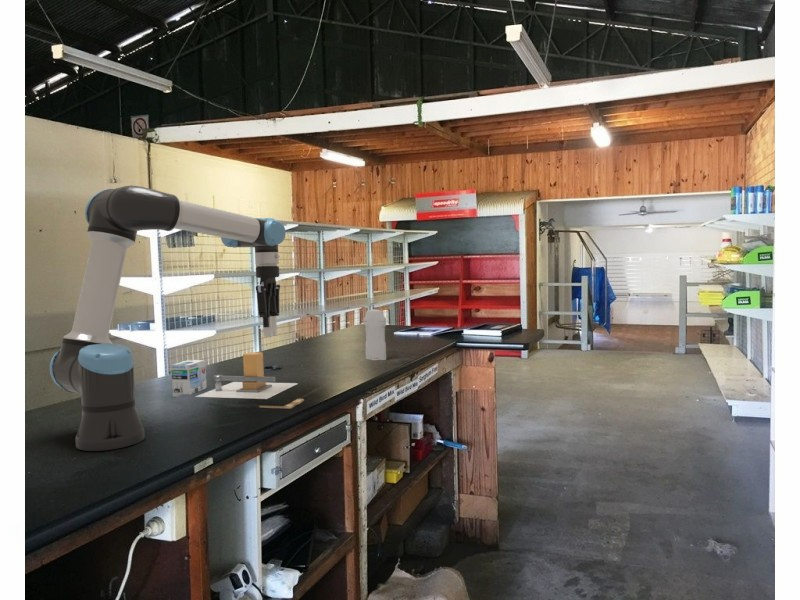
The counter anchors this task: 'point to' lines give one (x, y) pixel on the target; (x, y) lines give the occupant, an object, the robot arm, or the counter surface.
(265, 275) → the robot arm
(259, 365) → the tan tall block
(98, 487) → the counter surface
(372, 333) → the tall pale column
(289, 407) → the tan flat l-shape
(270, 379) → the silver metal bar
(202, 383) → the light bulb box
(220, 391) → the socket board
